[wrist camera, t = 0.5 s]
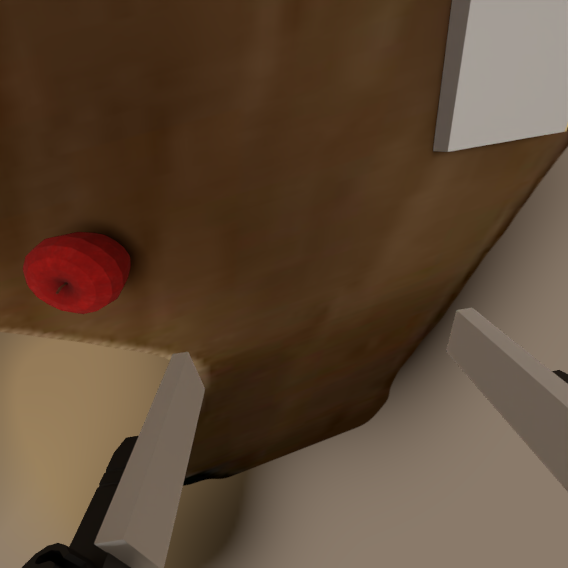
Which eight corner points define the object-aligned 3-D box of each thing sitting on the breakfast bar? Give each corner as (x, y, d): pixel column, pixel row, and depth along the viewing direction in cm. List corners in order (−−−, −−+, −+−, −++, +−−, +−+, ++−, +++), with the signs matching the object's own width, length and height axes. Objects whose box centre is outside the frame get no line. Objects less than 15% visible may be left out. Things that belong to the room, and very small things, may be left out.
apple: (143, 227, 35) (99, 259, 25) (146, 286, 39) (109, 332, 30) (63, 213, 33) (-16, 241, 24) (75, 276, 38) (13, 322, 28)
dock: (456, -34, 25) (479, -54, 22) (600, -60, 25) (640, -84, 22) (432, 150, 33) (447, 151, 30) (541, 132, 33) (566, 131, 30)
